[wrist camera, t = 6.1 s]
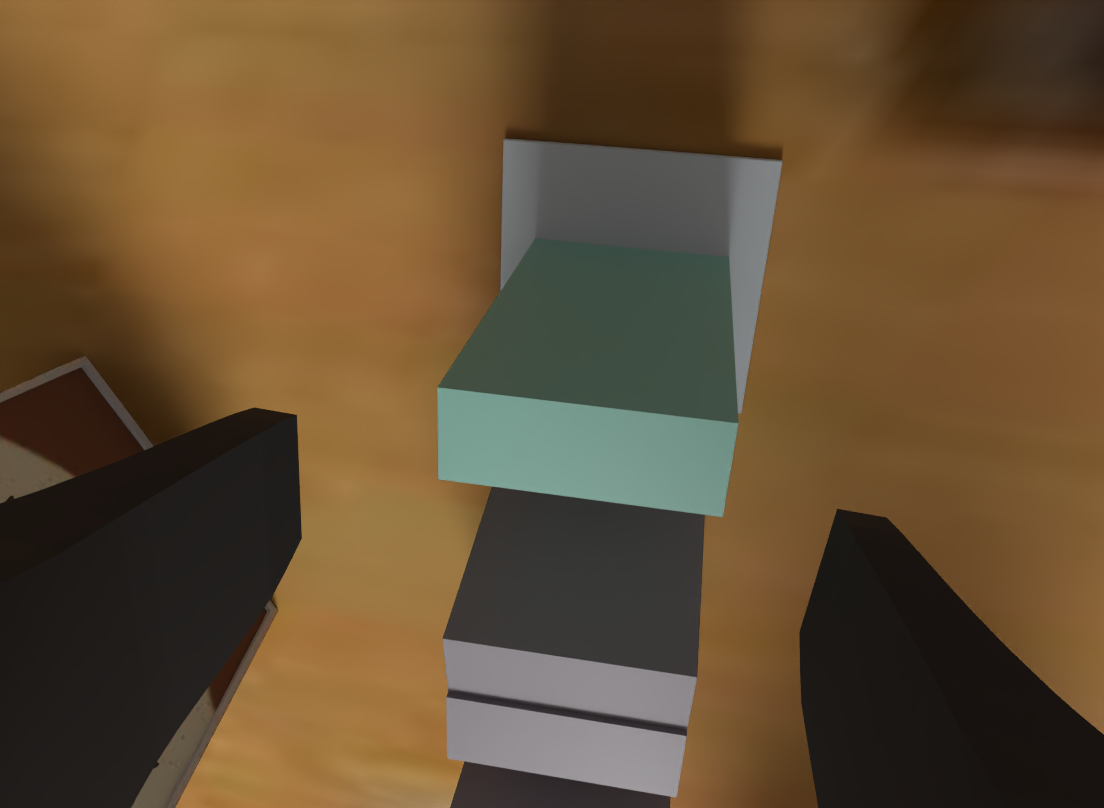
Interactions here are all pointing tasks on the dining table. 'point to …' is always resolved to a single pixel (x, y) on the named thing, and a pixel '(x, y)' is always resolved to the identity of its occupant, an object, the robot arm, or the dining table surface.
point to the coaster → (646, 211)
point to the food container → (80, 447)
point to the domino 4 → (541, 791)
